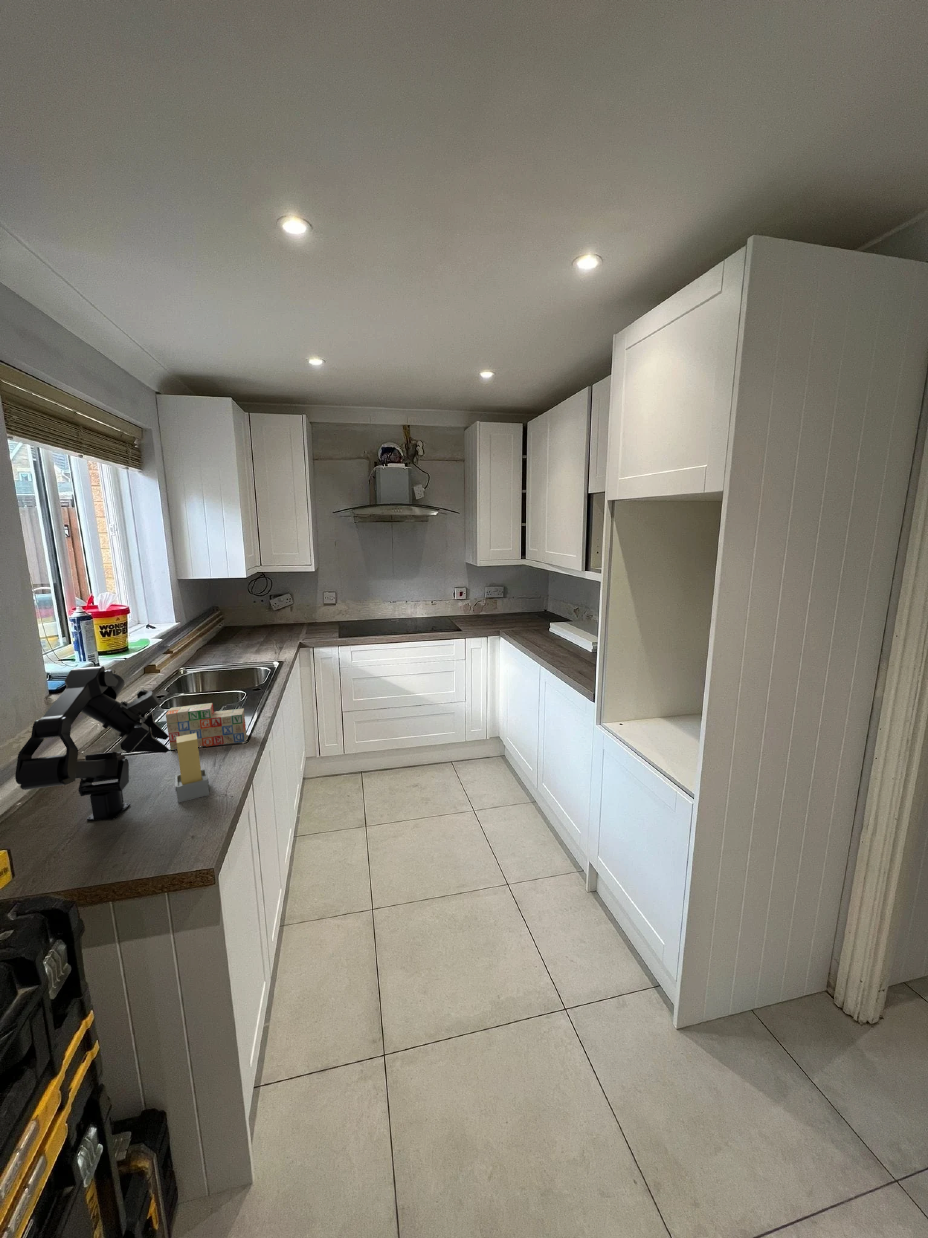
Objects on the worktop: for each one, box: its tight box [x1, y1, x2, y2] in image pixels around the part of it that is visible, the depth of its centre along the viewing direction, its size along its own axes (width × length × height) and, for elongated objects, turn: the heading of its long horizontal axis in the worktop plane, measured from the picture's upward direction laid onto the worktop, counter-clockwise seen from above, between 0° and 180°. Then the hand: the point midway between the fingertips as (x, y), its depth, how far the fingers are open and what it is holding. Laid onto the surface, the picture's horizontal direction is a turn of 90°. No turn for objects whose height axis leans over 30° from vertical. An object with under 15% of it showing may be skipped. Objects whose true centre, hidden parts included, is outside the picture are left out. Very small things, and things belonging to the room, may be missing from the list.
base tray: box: [174, 768, 210, 804], centre depth 128 cm, size 7×7×4 cm
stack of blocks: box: [165, 702, 247, 751], centre depth 159 cm, size 21×6×12 cm, turn 107°
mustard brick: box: [176, 733, 202, 785], centre depth 127 cm, size 4×4×12 cm
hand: (167, 744), depth 126 cm, fingers open, 9 cm apart
